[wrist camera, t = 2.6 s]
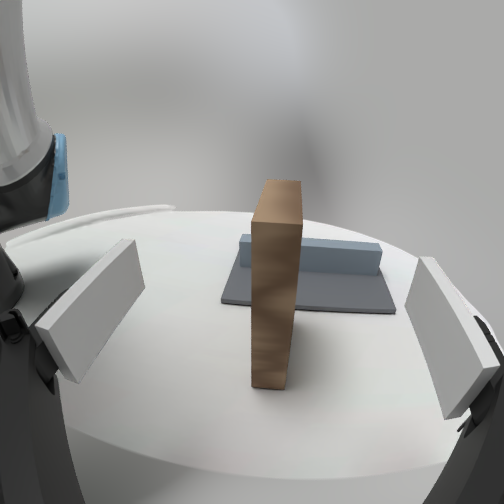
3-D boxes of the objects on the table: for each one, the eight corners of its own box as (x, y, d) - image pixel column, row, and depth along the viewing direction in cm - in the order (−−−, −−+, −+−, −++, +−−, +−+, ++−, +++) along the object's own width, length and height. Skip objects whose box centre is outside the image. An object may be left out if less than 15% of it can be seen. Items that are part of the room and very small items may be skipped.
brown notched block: (251, 386, 25) (251, 221, 17) (263, 317, 33) (267, 179, 26) (284, 389, 24) (302, 224, 17) (289, 319, 33) (300, 181, 25)
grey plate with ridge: (221, 302, 36) (218, 270, 34) (244, 238, 52) (244, 214, 49) (394, 313, 33) (404, 283, 31) (368, 247, 49) (373, 223, 47)
